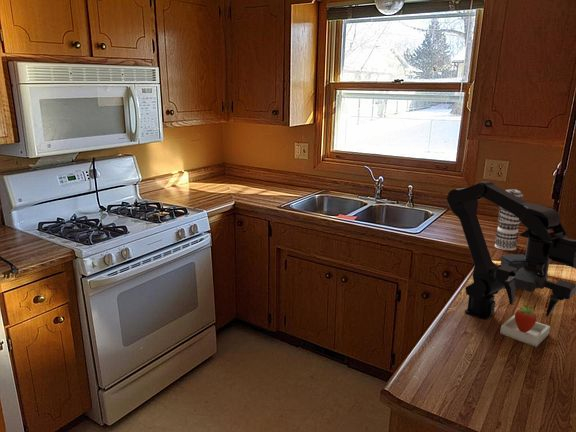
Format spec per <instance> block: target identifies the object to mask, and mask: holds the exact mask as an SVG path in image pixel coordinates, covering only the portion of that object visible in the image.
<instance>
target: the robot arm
mask: <svg viewBox="0 0 576 432" xmlns="http://www.w3.org/2000/svg"><path fill="white" fill-rule="evenodd" d="M506 190H507V189H503V188H502V187H500V186H498V185H496V184H495V183H494V182H492V181H489V180H488V181H481V182H480V181H479V182H477V183H476V184H473V185H471V186H467V187H461V188H455V189H451V190H450V191H449V192H448V193H447V196H446V202H447V204H448V206H449V209H450V210H451V212H452V214H453V215H455V216H456V218H458V219H459V221H460V222H459V223H460V224H461V228H462V231H463V234H464V237H465V240H466V243H467V246H468V250H469V253H470V256H471V260H472V262H473V264H474V265H473V266H474V267H473V271H472V280H473V283H471V284H469V285H467V286H466V287H465V289H464V290H465V294H466V296H468V301H467V302H468V303H467V308H466V309H465V310H464V313H466V314H469V315H472V316H474V317H477V318H479V319H481V320H482V319H483V320H487V319H488V318H489V317H491V316H492V315H494V314H495V309H496V301H495V295H497V294H499V292H500V291H502V290H503V289H505V291H506V293H507V298H508V301H509V305H510V306H512V305H514V303H515V302H514V301H515V297H516V290H519V288H520V289H521V290H525V291H526V292H528V293H533V292H535V290H536V289H542V290H543V289H544V288H546V289H549V290H551V295H550V296H549V301H548V306H547V309H546V312H545V313H546V314H545V316H546V318H547V317H549V316H550V315H551V313H552V312H553V310H554V308H555V307H556V306H557V304H558V302H559V301H564V300H570V299H571V298H572V297H573V296H574V295H576V283H574V282H571V281H568V280H564V279H559V280H557V281H556V282H555V281H551V280H547V279H548V277H549V273H548V271H549V266H550V263H551V261H552V262H554V263H557V264H559V265H560V264H561V265H564V266H567V267H570V268H573V269H576V239H573V238H569V237H568V234H567V231H566V230H565V227H564V226H563V223H562V222H561V218H560V214H559V212H558V211H557V210H556V209H554V208H551V207H547V206H544V205H540V204H537V203H531V202H529V201H526V200H524V199H523V198H522V199H521V198H519V197H517V196H515V195H513V194H511V193H509V192H507V191H506ZM481 199H486V201H489V202H491V203H492V204H494V205H496V206H498V208H500V207H501V208H503V209H505V210H506V211H508V212H510V213H512V214H513V215H515V216H516V217H518V218H519V220H520V223H521V225H523V226H524V228H526V230H524V231H522V232H520V233H519V236H520V237H523V238H527V242H526V248H525V254H524V255H525V259H524V260H523V263H522V266H521V268H520V269H519V270H518V272H517V268H515V267H511V266H507V265H503V266H501V264H499V265H496V264H495V263H494V261H493V259H492V257H491V254H490V252H489V248H488V246H487V242H486V240H485V239H486V238H485V237H484V233H483V230H482V228H481V224H480V221H479V218H478V213H477V212H478V207H479V201H478V200H481ZM550 231H552V232H550ZM504 286H505V288H504ZM516 288H518V289H516Z"/></svg>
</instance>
